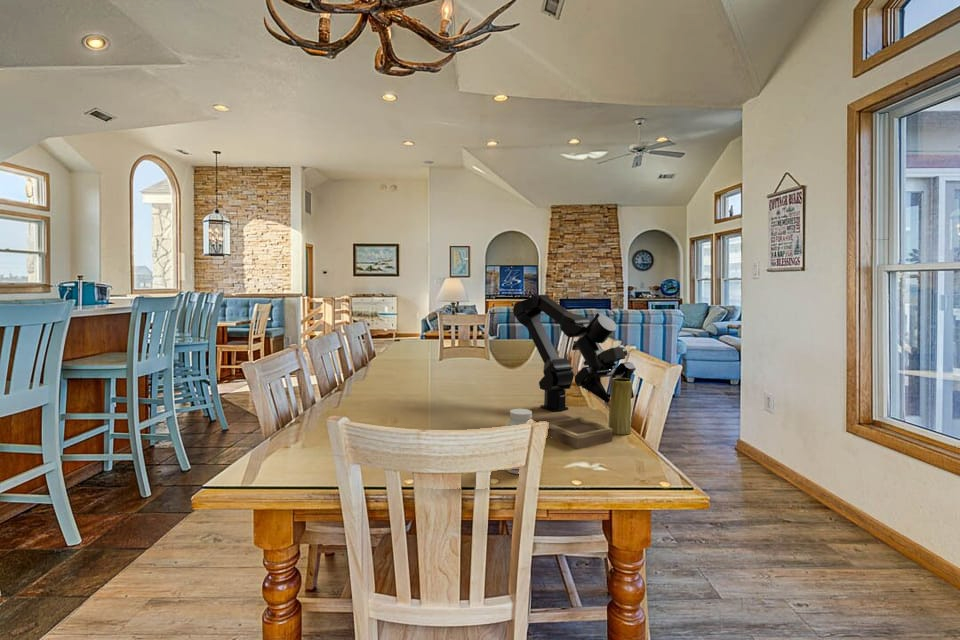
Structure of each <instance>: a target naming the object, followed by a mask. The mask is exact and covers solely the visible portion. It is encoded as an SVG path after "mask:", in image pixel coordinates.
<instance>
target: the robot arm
mask: <svg viewBox="0 0 960 640" xmlns="http://www.w3.org/2000/svg"><path fill="white" fill-rule="evenodd" d="M512 311H513V315H514V317H515V319H516V320H517V321H518V323H520V324H521V325H522V326H524V327H525V328H526V329H527V331H528V334H529V335H530V337H531V339H532V342H533V343H534V345H535V348H536V349H537V351H538V354H539V355H540V358H541V360H542V362H543V364H544V365H543V370H542V371H543V377H542V378H541V379H540V380H539V382H538V385H539V386H538V387H539V389H540V390H543V391H544V399H543V400H544V401H543V404H541V405H540V406H539V407H540V408H542V409H545V410H547V411H551V412H557V411H558V412H559V411H565V410H569V409H570V407H568V406H566V401H567V400H566V398H567V395H566V390H571V387H572V384H573V380H574V382H575V384H576V386H577V387H579V388H580V387H581V389H583V390H584V389H585V390H587V391H588V392H589V393H592V394H593V395H595V396H597V397H598V398H599V399H601V400H602V401H603V402H605V403H610V399H611V398H609V395H608V393H607V391H606V389H605V387H604V385H603V384H602V381H601V378H608V377H609V378H610V377H611V379H613V378H627V379H631V378H632V375H633V374H634V372H635V371H636V366H635V365H634V363H632V362H629V361H628V362H620V363H619V364H618V362H619V361H621V360H625V359H626V357H627V356H628V349H626V347H625V346H624V344H621V345H618V346H615V347H610V348H608V349H602V347H601V345H600V344H604V343H605V342H606V341H607V340H608V339H609V338H610V337H611V335H612V334H613V333H614V332H615V331H616V329H617V324H616V322H615V321H614V320H613V319H611V318H610V317H609V316H607V315H605V314H604V313H603V312H597V313H596V314H595V316H594V317H593V318H592V319H591V321H590V320H589V318H587V317H586V316H583V315H581V314H577V313H572V312H570V311H569V310H568V309H566V308H564V307H563V306H562V305H560V304H559V303H557V302H556V301H555V300H553V299H552V298H551V297H550V296H549V295H548V294H535V295H533V296H531V297H529V298H527V299H524V300H521V301H520V300H519V301H516V302H515V304H514V305H513V309H512ZM542 313H544V314H546V316H548V317H550V319H553V321H554V322H556V323H558V325H559V327H560V330H561V332H562V333H563V334H564V335H565V336H566V337H567V338H578V339H577V340H573V345H572V348H571V350H572V351H579V353H580V354H581V356H582V358H583V359H584V361H583V365H584V366H582V368H581V369H580V370H579V371H578V372H577V373H576V374H575V373H574V371H573V369H574V368H573V367H572V365H571V364H570V361H569V359H568V358H567V357H563V358H561V357H560V356H559V355H558V353H557V351H556V348H555V347H554V345H553V343H552V341H551V339H550V337H549V336H548V333H547V331H546V329H545V327H544V326H543V324H542V320H541V319H542ZM617 364H618V365H617ZM616 365H617V366H616ZM614 366H616V367H615V368H614ZM631 380H632V379H631ZM634 398H635V395H634V390H633V388H632V391H631V400H632V399H634Z"/></svg>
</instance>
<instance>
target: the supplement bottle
mask: <svg viewBox="0 0 960 640" xmlns="http://www.w3.org/2000/svg"><path fill="white" fill-rule="evenodd" d="M532 417H533V411H532V410H531V409H528V408H527V409H526V408H513V409H510V410H509V418H510V421H507V423H506V424H505V426H511V425H519V424H524V423H526V422H527V421H528V420H530V419H531V418H532ZM505 471H507V472H508V473H511V474H513V475H518V472H519V469H511V470H506V469H505Z"/></svg>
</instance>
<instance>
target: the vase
mask: <svg viewBox="0 0 960 640" xmlns="http://www.w3.org/2000/svg"><path fill="white" fill-rule="evenodd" d="M632 382H633V381H632V379H627V378H611V383H610V384H611V385H610V398H609V399H610V401H609V413H608V426H607V427H609V428H612V434H613V433H615V434H614V435H618V434H621V435H620V436H625V435H626V434H627V435H630V434H631V432H632V430H631V429H632V428H631V423H632V422H631V415H632V399H631V391H632V389H633V385H632V384H633V383H632ZM623 434H624V435H623ZM627 435H626V436H627Z"/></svg>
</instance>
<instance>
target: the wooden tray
mask: <svg viewBox="0 0 960 640" xmlns="http://www.w3.org/2000/svg"><path fill="white" fill-rule="evenodd" d="M531 419H533V420H534V421H536V422H539V421H547V422H549V429H548V436H549V437H548V438H550V437H552V438H554V439H556V440H555V441H557V440H558V441H557V442H559V441H560V443H561V442H562V444H563V445H566V446H568V447H571V448H573V449H575V450H579V449H582V448H587V447H588V446H589V447H591V446H592V445H593V446H596V445H597V444H598V445H602V444H605V442H607V443H610V442H609V441H612V442H613V433H612V428H609V427H608V426H606V425H603V424H601V423H599V422H598V423H597V422H594V421H593V420H592V421H591V420H589V419H586V418H583V417H580V416H578V417H572V416H570V415H567V414H564V413H561V412H558V413H552V414H544V415H539V416H532V418H531ZM552 438H551V439H552ZM554 439H553V440H554ZM601 443H602V444H601Z"/></svg>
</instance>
